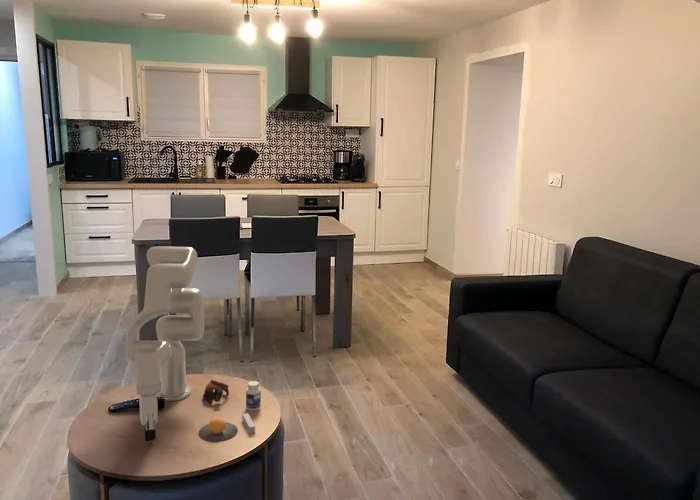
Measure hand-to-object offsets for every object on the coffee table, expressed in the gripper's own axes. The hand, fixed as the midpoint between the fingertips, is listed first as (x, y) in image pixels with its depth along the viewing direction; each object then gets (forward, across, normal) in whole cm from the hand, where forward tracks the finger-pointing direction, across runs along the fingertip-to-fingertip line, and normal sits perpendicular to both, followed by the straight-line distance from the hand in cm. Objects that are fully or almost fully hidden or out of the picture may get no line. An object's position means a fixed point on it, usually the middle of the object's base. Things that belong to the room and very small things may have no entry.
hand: (150, 439), depth 187 cm
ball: (-1, +1, +21) cm, 21 cm away
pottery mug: (+2, -25, +26) cm, 36 cm away
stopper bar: (+2, 0, +32) cm, 33 cm away
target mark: (+2, 0, +22) cm, 22 cm away
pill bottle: (+2, -13, +38) cm, 40 cm away
